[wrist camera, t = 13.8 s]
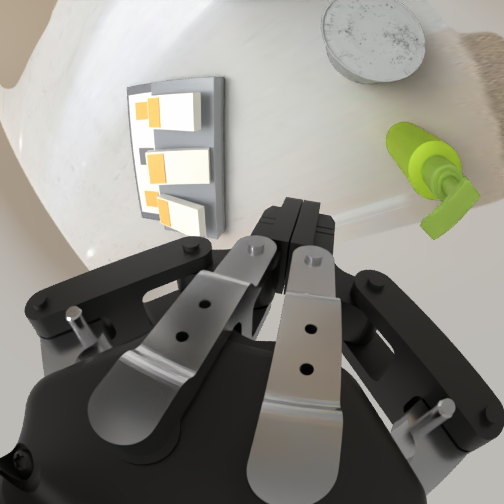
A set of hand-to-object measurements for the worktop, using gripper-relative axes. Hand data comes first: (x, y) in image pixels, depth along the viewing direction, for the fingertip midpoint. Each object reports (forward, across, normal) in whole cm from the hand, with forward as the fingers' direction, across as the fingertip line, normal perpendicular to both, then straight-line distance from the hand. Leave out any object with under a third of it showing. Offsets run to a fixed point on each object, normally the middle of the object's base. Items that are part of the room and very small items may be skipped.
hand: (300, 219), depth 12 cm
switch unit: (+27, +23, +6) cm, 36 cm away
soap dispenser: (+27, -11, 0) cm, 29 cm away
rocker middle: (+22, +20, +6) cm, 30 cm away
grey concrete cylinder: (+27, -4, -12) cm, 30 cm away
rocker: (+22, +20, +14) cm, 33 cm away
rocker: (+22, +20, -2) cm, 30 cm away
